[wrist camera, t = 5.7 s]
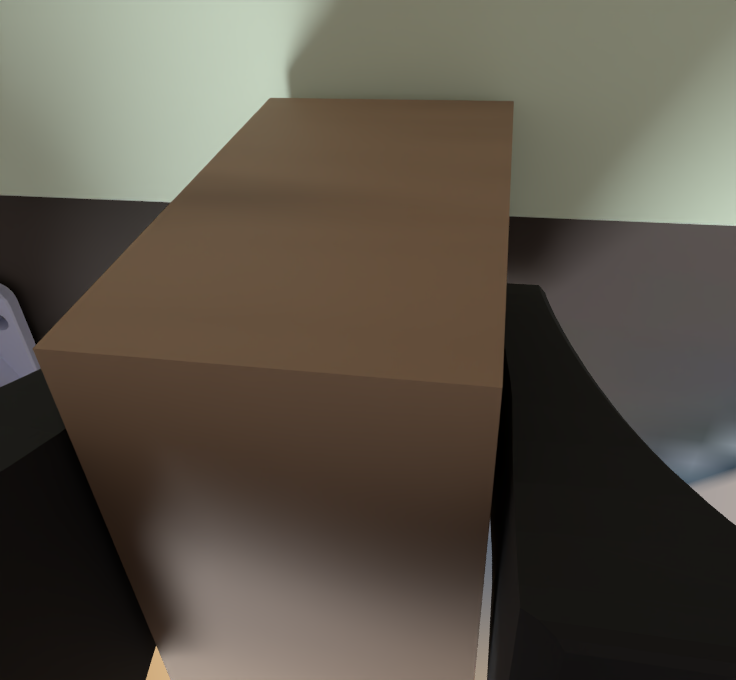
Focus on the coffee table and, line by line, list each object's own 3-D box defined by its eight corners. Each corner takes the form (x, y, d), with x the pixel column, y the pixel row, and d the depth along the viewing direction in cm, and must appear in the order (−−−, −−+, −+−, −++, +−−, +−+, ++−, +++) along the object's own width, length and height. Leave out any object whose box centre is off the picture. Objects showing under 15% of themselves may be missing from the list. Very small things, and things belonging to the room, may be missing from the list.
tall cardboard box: (489, 391, 14) (467, 744, 9) (304, 375, 15) (176, 694, 9) (513, 100, 11) (502, 387, 5) (269, 97, 11) (32, 348, 6)
